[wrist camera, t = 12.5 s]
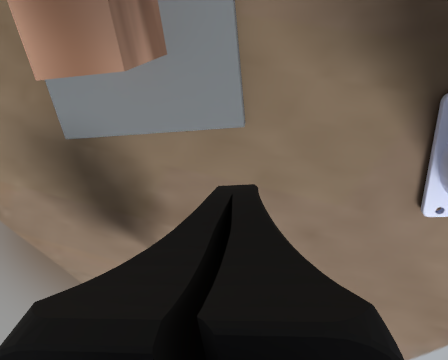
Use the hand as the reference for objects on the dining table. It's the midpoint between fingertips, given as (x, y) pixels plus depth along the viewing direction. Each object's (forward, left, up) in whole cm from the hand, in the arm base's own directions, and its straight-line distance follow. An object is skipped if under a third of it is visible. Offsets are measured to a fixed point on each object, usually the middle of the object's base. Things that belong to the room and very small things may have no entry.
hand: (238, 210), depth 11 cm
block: (+7, -7, -10) cm, 14 cm away
